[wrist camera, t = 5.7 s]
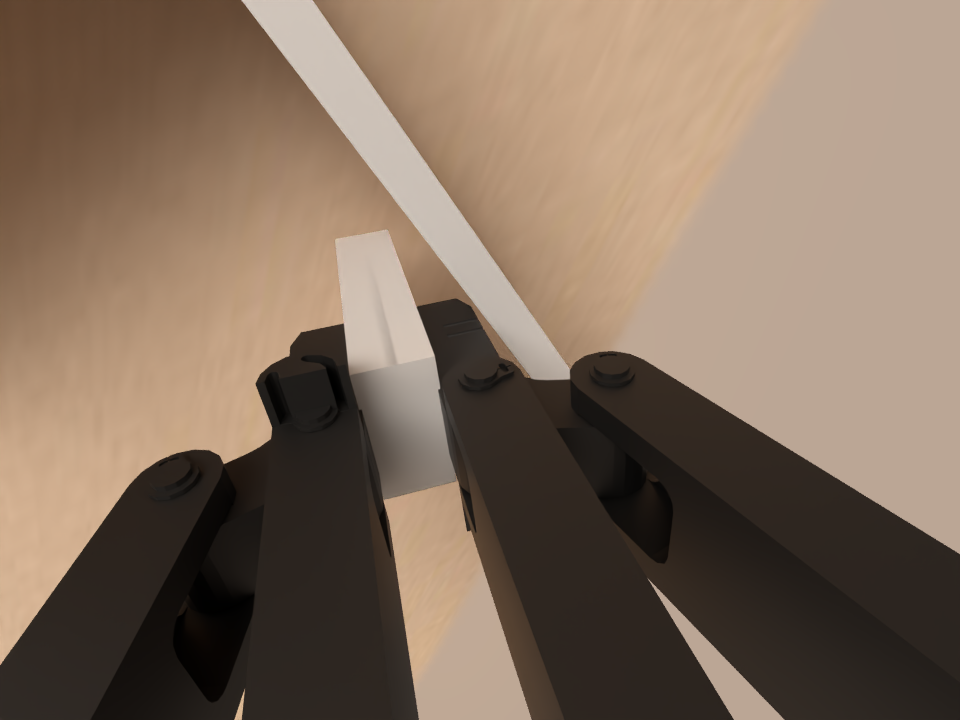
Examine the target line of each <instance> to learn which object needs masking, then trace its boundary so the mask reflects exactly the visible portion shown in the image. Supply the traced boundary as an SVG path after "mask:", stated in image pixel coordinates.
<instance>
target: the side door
mask: <svg viewBox="0 0 960 720" xmlns="http://www.w3.org/2000/svg"><path fill="white" fill-rule="evenodd" d="M242 2H243V3H244V4H245V5H246V7H247V8H248V9H249V11H250V12H251V13H252V15H253V16H254V17H255V19H256V20H257V21H258V22H259V24H260V25H261V26H262V28H263V29H264V30H265V32H266V33H267V34H268V35H269V37H270V38H271V39H272V41H273V42H274V43H275V45H276V46H277V47H278V48H279V50H280V51H281V52H282V54H283V55H284V56H285V58H286V59H287V60H288V62H289V63H290V64H291V65H292V67H293V68H294V69H295V71H296V72H297V73H298V75H299V76H300V77H301V78H302V80H303V81H304V82H305V84H306V85H307V86H308V88H309V89H310V90H311V92H312V93H313V94H314V95H315V97H316V98H317V99H318V101H319V102H320V103H321V105H322V106H323V107H324V108H325V110H326V111H327V112H328V114H329V115H330V116H331V118H332V119H333V120H334V121H335V123H336V124H337V125H338V127H339V128H340V129H341V131H342V132H343V133H344V135H345V136H346V137H347V138H348V140H349V141H350V142H351V144H352V145H353V146H354V148H355V149H356V150H357V151H358V153H359V154H360V155H361V157H362V158H363V159H364V161H365V162H366V163H367V164H368V166H369V167H370V168H371V170H372V171H373V172H374V174H375V175H376V176H377V178H378V179H379V180H380V181H381V183H382V184H383V185H384V187H385V188H386V189H387V191H388V192H389V193H390V194H391V196H392V197H393V198H394V200H395V201H396V202H397V204H398V205H399V206H400V207H401V209H402V210H403V211H404V213H405V214H406V215H407V217H408V218H409V219H410V221H411V222H412V223H413V224H414V226H415V227H416V228H417V230H418V231H419V232H420V234H421V235H422V236H423V237H424V239H425V240H426V241H427V243H428V244H429V245H430V247H431V248H432V249H433V250H434V252H435V253H436V254H437V256H438V257H439V258H440V260H441V261H442V262H443V264H444V265H445V266H446V267H447V269H448V270H449V271H450V273H451V274H452V275H453V277H454V278H455V279H456V280H457V282H458V283H459V284H460V286H461V287H462V288H463V290H464V291H465V292H466V293H467V295H468V296H469V297H470V299H471V300H472V301H473V303H474V304H475V305H476V307H477V308H478V309H479V310H480V312H481V313H482V314H483V316H484V317H485V318H486V320H487V321H488V322H489V323H490V325H491V326H492V327H493V329H494V330H495V331H496V333H497V334H498V335H499V336H500V338H501V339H502V340H503V342H504V343H505V344H506V346H507V347H508V348H509V350H510V351H511V352H512V353H513V355H514V356H515V357H516V359H517V360H518V361H519V363H520V364H521V365H522V366H523V368H524V369H525V370H526V372H527V373H528V374H529V376H530V377H531V378H532V379H536V380H564V379H570V369H569V367H568V366H567V364H566V363H565V362H564V360H563V359H562V357H561V356H560V354H559V353H558V352H557V350H556V349H555V347H554V346H553V344H552V343H551V342H550V340H549V339H548V337H547V336H546V334H545V333H544V331H543V330H542V329H541V327H540V326H539V324H538V323H537V321H536V320H535V319H534V317H533V316H532V314H531V313H530V311H529V310H528V309H527V307H526V306H525V304H524V303H523V301H522V300H521V298H520V297H519V296H518V294H517V293H516V291H515V290H514V288H513V287H512V286H511V284H510V283H509V281H508V280H507V278H506V277H505V276H504V274H503V273H502V271H501V270H500V268H499V267H498V265H497V264H496V263H495V261H494V260H493V258H492V257H491V255H490V254H489V253H488V251H487V250H486V248H485V247H484V245H483V244H482V242H481V241H480V240H479V238H478V237H477V235H476V234H475V232H474V231H473V230H472V228H471V227H470V225H469V224H468V222H467V221H466V220H465V218H464V217H463V215H462V214H461V212H460V211H459V209H458V208H457V207H456V205H455V204H454V202H453V201H452V199H451V198H450V197H449V195H448V194H447V192H446V191H445V189H444V188H443V187H442V185H441V184H440V182H439V181H438V179H437V178H436V176H435V175H434V174H433V172H432V171H431V169H430V168H429V166H428V165H427V164H426V162H425V161H424V159H423V158H422V156H421V155H420V154H419V152H418V151H417V149H416V148H415V146H414V145H413V143H412V142H411V141H410V139H409V138H408V136H407V135H406V133H405V132H404V131H403V129H402V128H401V126H400V125H399V123H398V122H397V121H396V119H395V118H394V116H393V115H392V113H391V112H390V110H389V109H388V108H387V106H386V105H385V103H384V102H383V100H382V99H381V98H380V96H379V95H378V93H377V92H376V90H375V89H374V88H373V86H372V85H371V83H370V82H369V80H368V79H367V77H366V76H365V75H364V73H363V72H362V70H361V69H360V67H359V66H358V65H357V63H356V62H355V60H354V59H353V57H352V56H351V55H350V53H349V52H348V50H347V49H346V47H345V46H344V44H343V43H342V42H341V40H340V39H339V37H338V36H337V34H336V33H335V32H334V30H333V29H332V27H331V26H330V24H329V23H328V22H327V20H326V19H325V17H324V16H323V14H322V13H321V11H320V10H319V9H318V7H317V6H316V4H315V3H314V1H313V0H242Z"/></svg>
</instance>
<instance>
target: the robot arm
mask: <svg viewBox="0 0 960 720" xmlns="http://www.w3.org/2000/svg"><path fill="white" fill-rule="evenodd" d="M335 245H336V254H337V264H338V273H339V282H340V292H341V301H342V310H343V320H344V324H340V325H335V326H330V327H325V328H320V329H316V330H311V331H306V332H301V333H300V335H299V336H298V337H297V338H296V340H295V341H294V342H293V344H292V345H291V346H290V356H289V357H285V358H283V359H282V360H280V361H278V362H276V363H274V364H272V365H270V366H269V367H268V368H267V369H266V370H265V371H264V372H262V373H261V374H260V376H259V378H258V380H257V382H256V387H257V389H258V392H259V394H260V397H261V400H262V402H263V405H264V407H265V410H266V412H267V415H268V417H269V420H270V423H271V425H272V436H271V440H269V441H268V442H266V443H265V444H264V445H262V446H261V447H259V448H257V449H256V450H254V451H252V452H250V453H248V454H246V455H244V456H241V457H239V458H237V459H235V460H232V461H230V462H228V463H226V464H223V462H222V460H221V458H220V456H219V455H217V454H215V453H213V452H211V451H209V450H190V451H185V452H181V453H176V454H174V455H171V456H169V457H166V458H164V459H162V460H160V461H158V462H156V463H155V464H153V465H152V466H150V467H149V468H147V469H146V470H144V471H143V472H141V473H140V474H139V476H138V477H137V478H136V479H135V480H134V481H133V482H132V483H131V484H130V485H129V486H128V488H127V489H126V490H125V492H124V493H123V495H122V496H121V497H120V499H119V500H118V502H117V503H116V504H115V506H114V507H113V509H112V510H111V511H110V513H109V514H108V516H107V517H106V518H105V520H104V521H103V523H102V524H101V525H100V527H99V528H98V530H97V531H96V532H95V534H94V535H93V537H92V538H91V539H90V541H89V542H88V544H87V545H86V546H85V548H84V549H83V551H82V552H81V553H80V555H79V556H78V557H77V559H76V560H75V562H74V563H73V564H72V566H71V567H70V569H69V570H68V571H67V573H66V574H65V576H64V577H63V578H62V580H61V581H60V583H59V584H58V585H57V587H56V588H55V590H54V591H53V592H52V594H51V595H50V597H49V598H48V599H47V601H46V602H45V604H44V605H43V606H42V608H41V609H40V611H39V612H38V613H37V615H36V616H35V618H34V619H33V620H32V622H31V623H30V625H29V626H28V627H27V629H26V630H25V632H24V633H23V634H22V636H21V637H20V639H19V640H18V641H17V643H16V644H15V646H14V647H13V648H12V650H11V651H10V653H9V654H8V655H7V657H6V658H5V659H4V661H3V662H2V664H1V665H0V720H234V719H235V716H236V713H237V710H238V707H239V704H240V701H241V698H242V695H243V692H244V689H245V694H244V704H243V714H242V720H419V718H418V712H417V705H416V698H415V691H414V685H413V678H412V671H411V665H410V658H409V651H408V645H407V638H406V631H405V624H404V618H403V611H402V604H401V598H400V591H399V584H398V578H397V571H396V564H395V558H394V551H393V544H392V538H391V531H390V524H389V519H388V516H387V512H386V509H385V505H384V501H383V498H384V500H385V499H389V498H393V497H397V496H401V495H405V494H408V493H412V492H417V491H420V490H424V489H428V488H432V487H436V486H440V485H443V484H447V483H451V482H455V481H456V476H457V479H458V481H459V487H460V493H461V498H462V504H463V510H464V516H465V522H466V528H467V531H470V530H471V531H472V534H473V537H474V541H475V544H476V547H477V550H478V553H479V556H480V559H481V562H482V566H483V569H484V572H485V575H486V578H487V581H488V584H489V587H490V591H491V594H492V597H493V600H494V603H495V606H496V609H497V612H498V615H499V619H500V622H501V625H502V628H503V631H504V634H505V637H506V640H507V644H508V647H509V650H510V653H511V656H512V659H513V662H514V666H515V668H516V671H517V675H518V678H519V681H520V684H521V687H522V691H523V693H524V697H525V700H526V703H527V706H528V709H529V712H530V715H531V719H532V720H734V719H733V718H732V716H731V714H730V713H729V711H728V709H727V708H726V706H725V705H724V703H723V701H722V700H721V698H720V696H719V695H718V693H717V691H716V690H715V688H714V686H713V685H712V683H711V682H710V680H709V678H708V677H707V675H706V674H705V672H704V670H703V669H702V667H701V665H700V664H699V662H698V660H697V659H696V657H695V655H694V654H693V652H692V651H691V649H690V647H689V646H688V644H687V643H686V641H685V639H684V637H683V636H682V634H681V632H680V631H679V629H678V628H677V626H676V624H675V623H674V621H673V619H672V618H671V616H670V614H669V613H668V611H667V610H666V608H665V606H664V605H663V603H662V601H661V600H660V598H659V596H658V595H657V593H656V592H655V590H654V588H653V587H652V585H651V583H650V582H649V580H650V581H651V582H652V583H653V584H654V585H655V586H656V587H657V588H658V589H659V590H660V591H661V592H662V593H663V594H664V595H665V596H666V597H667V598H668V600H669V601H670V602H671V603H672V604H673V605H674V606H675V607H676V608H677V609H678V610H679V611H680V612H681V613H682V614H683V615H684V616H685V617H686V618H687V619H688V620H689V621H690V622H691V623H692V624H693V625H694V626H695V627H696V628H697V629H698V630H699V632H700V633H701V634H702V635H703V636H704V637H705V638H706V639H707V640H708V641H709V642H710V643H711V644H712V645H713V646H714V647H715V648H716V649H717V650H718V651H719V652H720V653H721V654H722V655H723V656H724V657H725V659H726V660H728V662H730V664H731V665H732V666H733V667H734V668H736V670H737V671H738V672H739V673H740V674H741V675H742V676H743V677H744V678H745V679H746V680H747V681H748V682H749V683H750V684H751V685H752V686H753V687H754V689H756V691H757V692H758V693H759V694H760V695H761V696H762V697H763V698H764V699H765V700H766V701H767V702H768V703H769V704H770V705H771V706H772V707H773V708H774V709H775V710H776V711H777V712H778V713H779V714H780V715H781V716H782V717H783V719H785V720H960V554H959V553H957V552H955V551H954V550H952V549H951V548H949V547H947V546H946V545H944V544H942V543H941V542H939V541H937V540H936V539H934V538H933V537H931V536H929V535H928V534H926V533H924V532H923V531H921V530H920V529H918V528H916V527H915V526H913V525H911V524H910V523H908V522H907V521H905V520H903V519H902V518H900V517H898V516H897V515H895V514H893V513H892V512H890V511H889V510H887V509H885V508H884V507H882V506H881V505H879V504H877V503H875V502H874V501H872V500H871V499H869V498H868V497H866V496H864V495H862V494H861V493H859V492H858V491H856V490H855V489H853V488H851V487H850V486H848V485H846V484H845V483H843V482H842V481H840V480H838V479H837V478H835V477H833V476H832V475H830V474H829V473H827V472H825V471H824V470H822V469H820V468H819V467H817V466H816V465H814V464H812V463H811V462H809V461H807V460H805V459H804V458H803V457H801V456H799V455H798V454H796V453H794V452H793V451H791V450H790V449H788V448H786V447H784V446H783V445H781V444H780V443H778V442H776V441H775V440H773V439H771V438H770V437H768V436H767V435H765V434H764V433H762V432H760V431H758V430H757V429H755V428H754V427H752V426H751V425H749V424H747V423H746V422H744V421H742V420H741V419H739V418H737V417H736V416H734V415H733V414H731V413H729V412H728V411H726V410H724V409H723V408H721V407H720V406H718V405H716V404H715V403H713V402H711V401H710V400H708V399H707V398H705V397H703V396H702V395H700V394H698V393H697V392H695V391H694V390H692V389H690V388H689V387H687V386H685V385H684V384H682V383H681V382H679V381H677V380H676V379H674V378H672V377H671V376H669V375H668V374H666V373H664V372H663V371H661V370H659V369H658V368H656V367H654V366H653V365H651V364H649V363H648V362H646V361H645V360H643V359H641V358H638V357H636V356H634V355H631V354H627V353H621V352H615V351H608V352H598V353H594V354H591V355H587V356H585V357H583V358H581V359H580V360H578V361H576V362H575V363H574V365H573V366H572V368H571V369H570V379H564V380H536V379H530V378H525V377H524V375H523V374H522V372H521V370H520V369H519V368H518V367H517V366H516V365H515V364H514V363H513V362H510V361H508V360H505V359H502V358H500V357H499V355H498V353H497V352H496V350H495V348H494V346H493V345H492V343H491V341H490V339H489V338H488V336H487V334H486V332H485V330H483V327H482V325H481V323H480V322H479V320H478V319H477V316H476V315H475V313H474V311H473V309H472V308H471V306H469V305H467V304H465V303H464V302H462V301H460V300H458V299H451V300H446V301H442V302H437V303H432V304H427V305H422V306H418V307H416V304H415V302H414V299H413V296H412V294H411V291H410V288H409V286H408V283H407V280H406V278H405V275H404V272H403V269H402V267H401V264H400V261H399V259H398V256H397V253H396V251H395V248H394V245H393V243H392V240H391V237H390V235H389V232H388V229H387V230H381V231H376V232H371V233H365V234H359V235H354V236H349V237H343V238H338V239H335ZM455 473H456V475H455ZM648 579H649V580H648Z"/></svg>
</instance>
